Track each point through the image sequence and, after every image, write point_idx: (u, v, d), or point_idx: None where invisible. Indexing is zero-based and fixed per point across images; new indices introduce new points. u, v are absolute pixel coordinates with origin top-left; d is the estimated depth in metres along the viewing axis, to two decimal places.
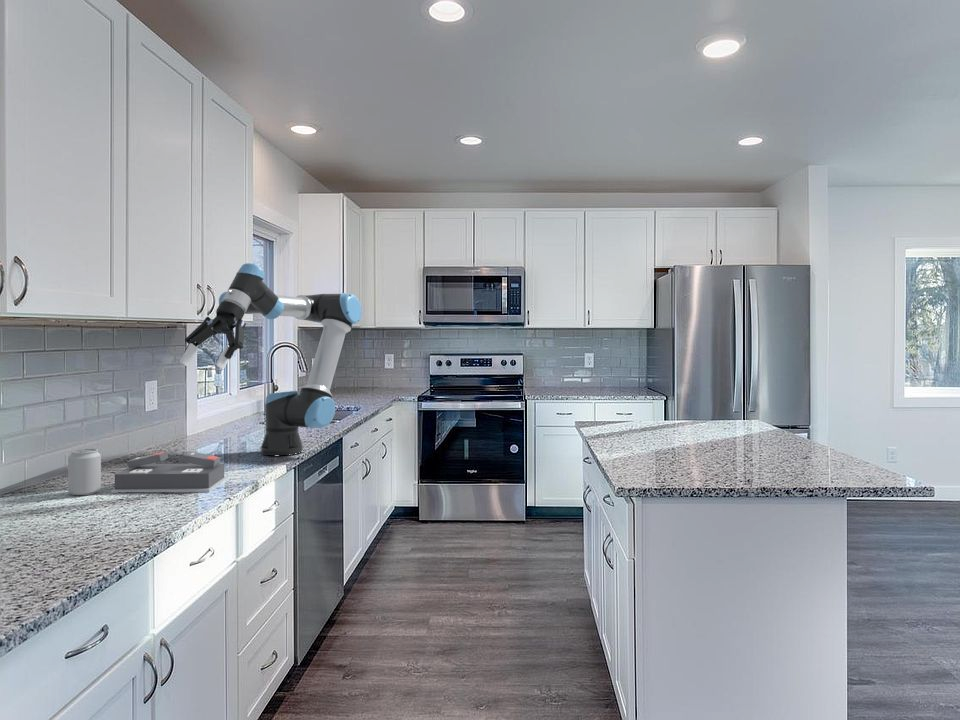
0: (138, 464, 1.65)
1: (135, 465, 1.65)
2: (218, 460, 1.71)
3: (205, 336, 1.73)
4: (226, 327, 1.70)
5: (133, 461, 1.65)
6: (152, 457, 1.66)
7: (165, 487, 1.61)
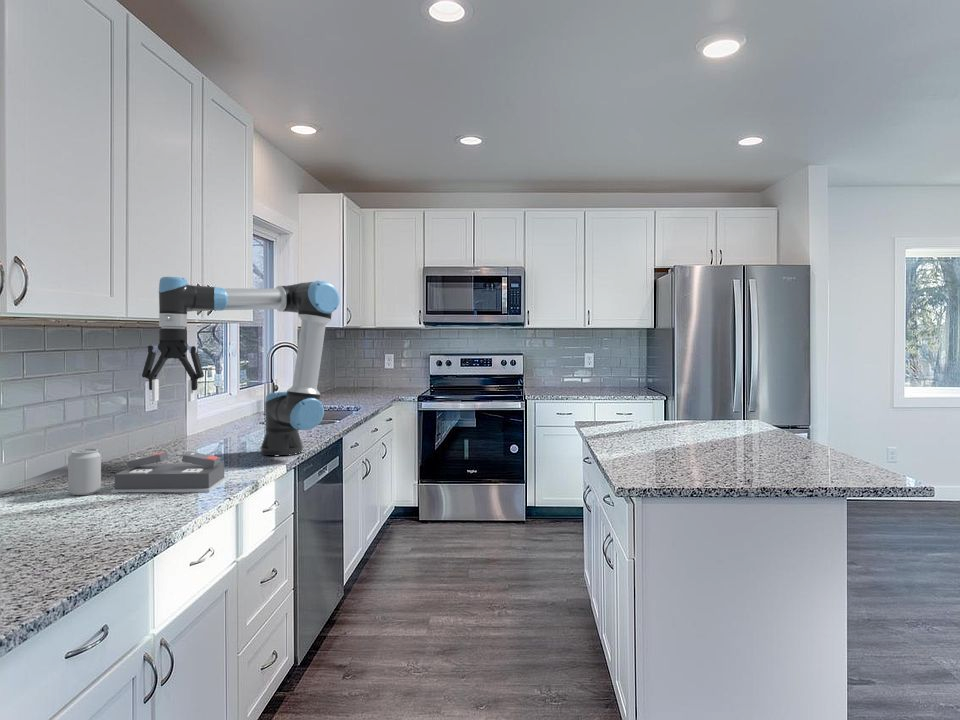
0: (138, 464, 1.65)
1: (135, 465, 1.65)
2: (218, 460, 1.71)
3: (161, 365, 1.75)
4: (181, 357, 1.74)
5: (133, 461, 1.65)
6: (152, 457, 1.66)
7: (165, 487, 1.61)
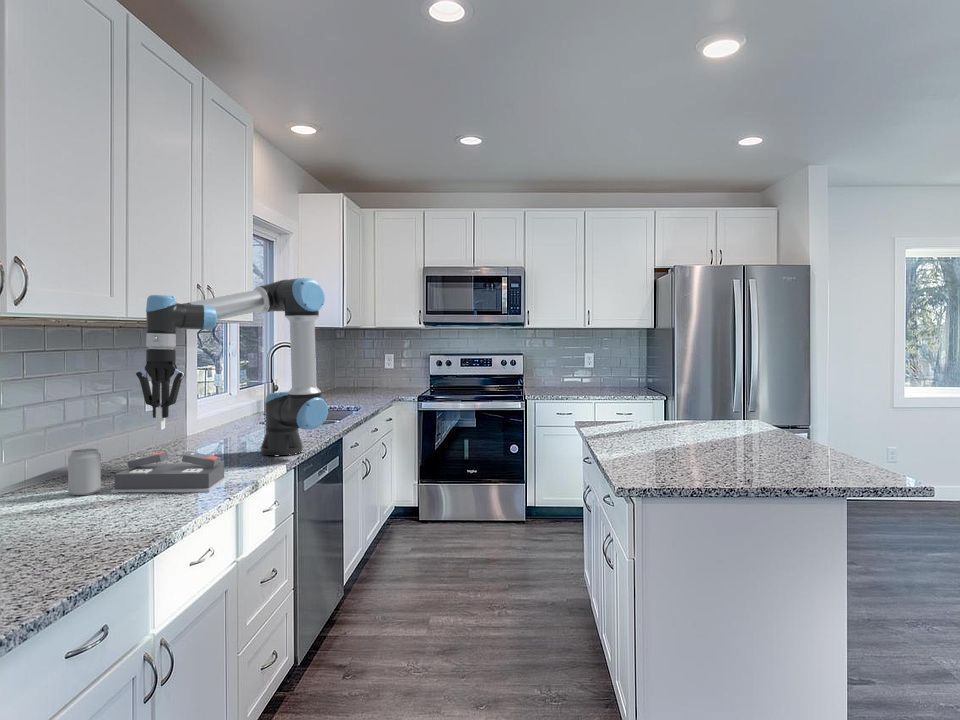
0: (138, 464, 1.65)
1: (135, 465, 1.65)
2: (218, 460, 1.71)
3: (158, 389, 1.67)
4: (163, 381, 1.66)
5: (133, 461, 1.65)
6: (152, 457, 1.66)
7: (165, 487, 1.61)
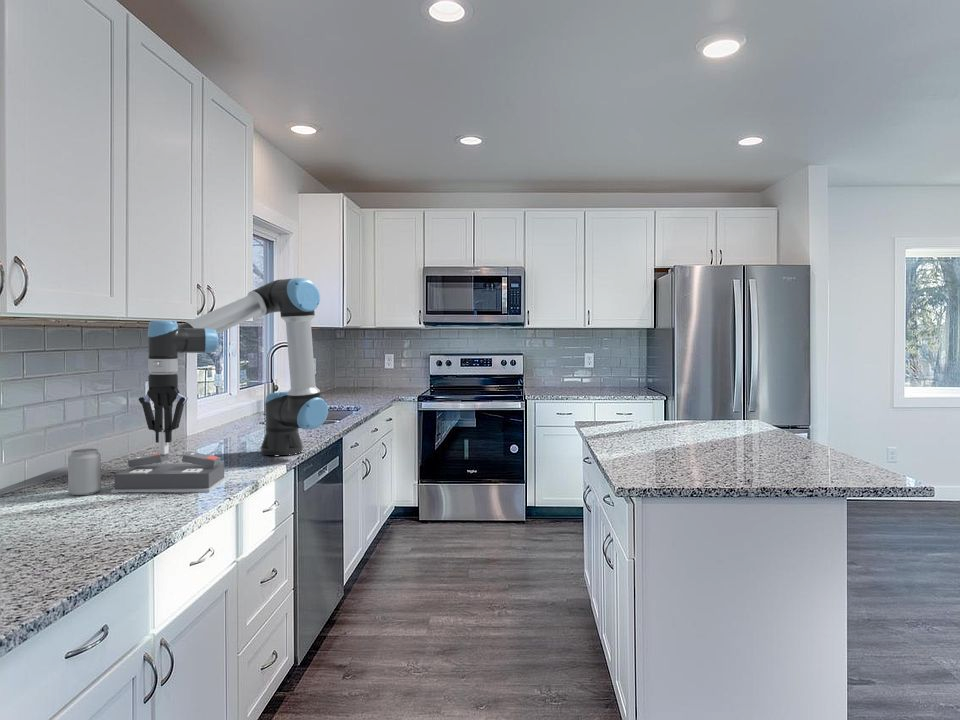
0: (138, 464, 1.65)
1: (135, 464, 1.65)
2: (218, 460, 1.71)
3: (160, 414, 1.68)
4: (166, 406, 1.66)
5: (134, 460, 1.65)
6: (153, 457, 1.66)
7: (165, 487, 1.61)
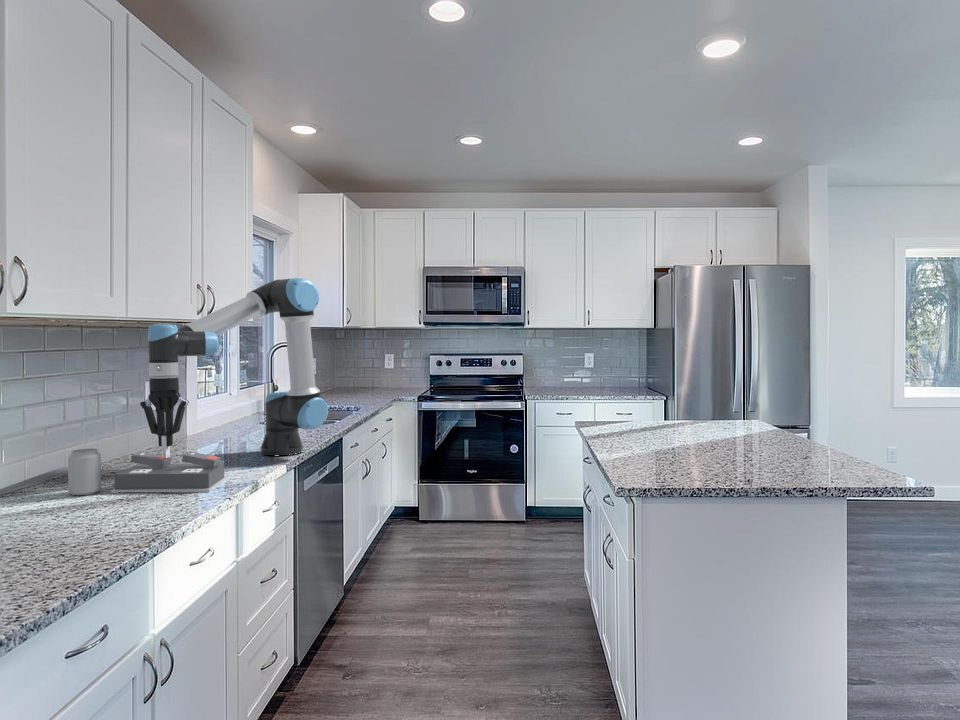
0: (141, 462, 1.65)
1: (137, 461, 1.65)
2: (218, 460, 1.71)
3: (162, 418, 1.68)
4: (167, 410, 1.66)
5: (137, 457, 1.65)
6: (156, 460, 1.66)
7: (165, 487, 1.61)
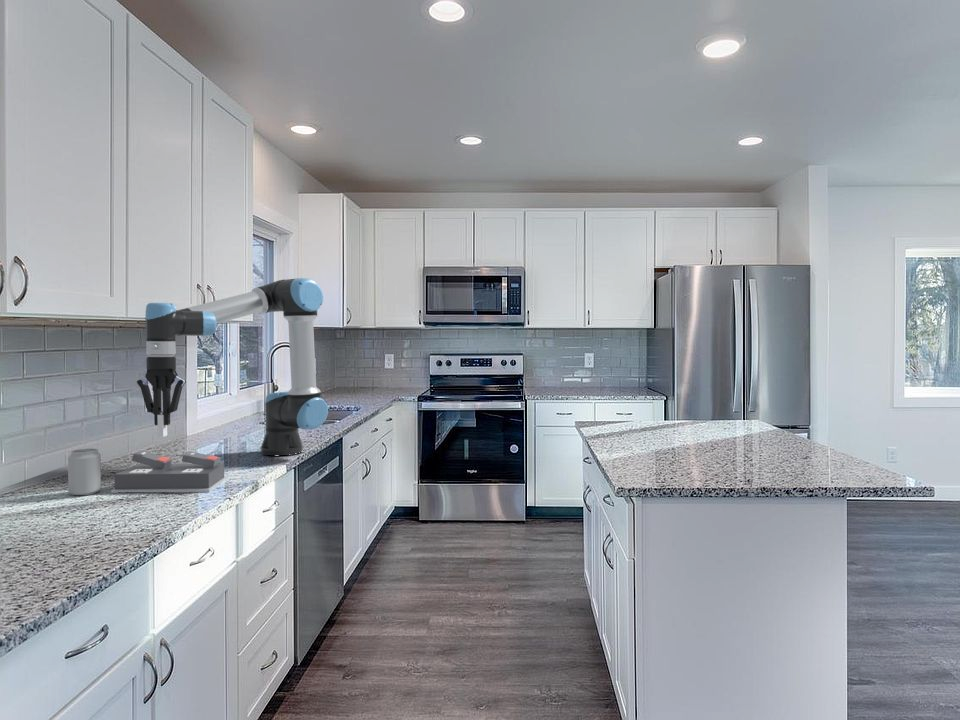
0: (141, 461, 1.65)
1: (138, 461, 1.65)
2: (218, 460, 1.71)
3: (159, 397, 1.68)
4: (164, 389, 1.66)
5: (139, 456, 1.65)
6: (157, 462, 1.66)
7: (165, 487, 1.61)
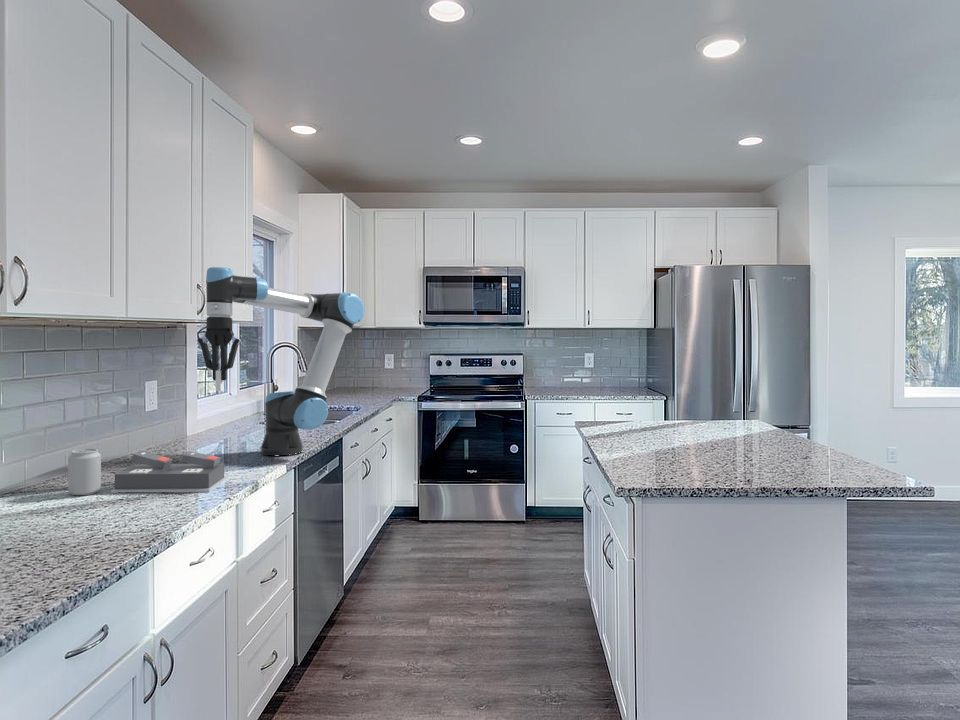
0: (141, 461, 1.65)
1: (138, 461, 1.65)
2: (218, 460, 1.71)
3: (217, 354, 1.82)
4: (222, 346, 1.81)
5: (138, 456, 1.65)
6: (157, 461, 1.66)
7: (165, 487, 1.61)
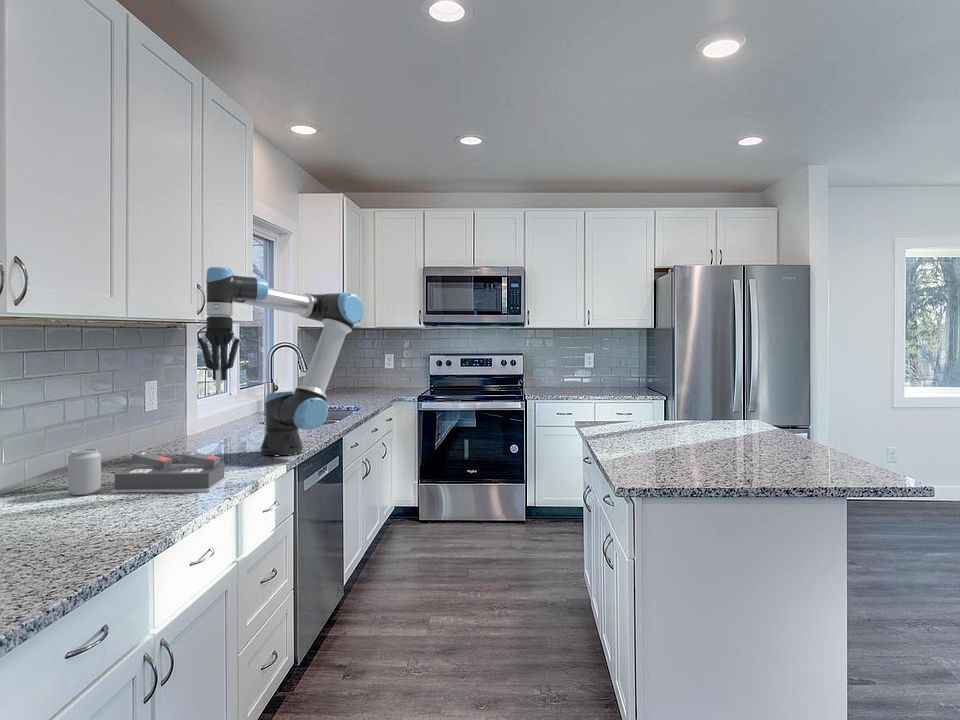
0: (141, 461, 1.65)
1: (138, 461, 1.65)
2: (218, 460, 1.71)
3: (217, 354, 1.82)
4: (223, 346, 1.81)
5: (138, 456, 1.65)
6: (157, 461, 1.66)
7: (165, 487, 1.61)
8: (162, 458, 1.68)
